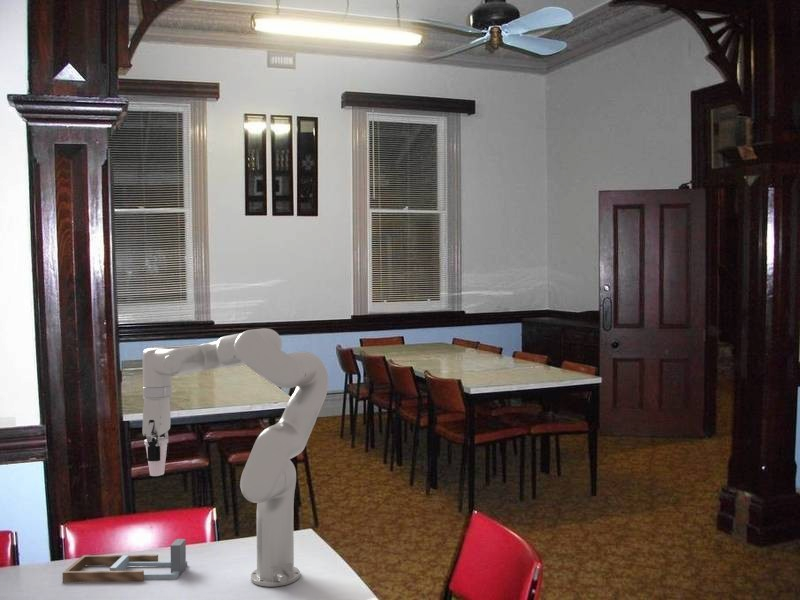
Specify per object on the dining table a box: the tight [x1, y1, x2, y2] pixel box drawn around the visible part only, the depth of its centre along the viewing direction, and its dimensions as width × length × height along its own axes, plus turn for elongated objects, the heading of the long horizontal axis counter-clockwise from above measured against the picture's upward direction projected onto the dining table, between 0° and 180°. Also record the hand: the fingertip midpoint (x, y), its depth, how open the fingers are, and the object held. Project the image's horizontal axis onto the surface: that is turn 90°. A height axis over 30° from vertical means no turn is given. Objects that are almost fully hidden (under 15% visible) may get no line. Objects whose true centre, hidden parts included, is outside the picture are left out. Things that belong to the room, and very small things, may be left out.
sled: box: [109, 538, 188, 580], centre depth 193 cm, size 18×9×8 cm, turn 90°
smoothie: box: [143, 437, 169, 477], centre depth 198 cm, size 6×6×14 cm
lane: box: [62, 554, 159, 583], centre depth 193 cm, size 21×12×2 cm, turn 90°
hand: (158, 457), depth 198 cm, fingers closed on smoothie, 6 cm apart
